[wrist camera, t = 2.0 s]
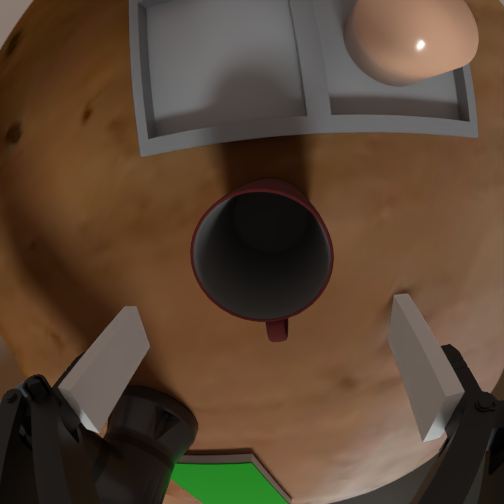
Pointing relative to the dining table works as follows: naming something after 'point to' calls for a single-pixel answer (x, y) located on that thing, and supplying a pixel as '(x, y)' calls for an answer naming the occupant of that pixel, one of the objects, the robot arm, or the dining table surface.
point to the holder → (271, 77)
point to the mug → (263, 254)
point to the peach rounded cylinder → (410, 38)
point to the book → (227, 480)
